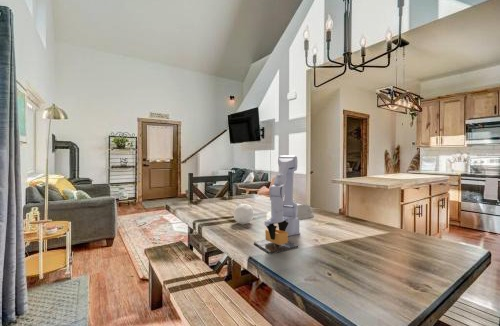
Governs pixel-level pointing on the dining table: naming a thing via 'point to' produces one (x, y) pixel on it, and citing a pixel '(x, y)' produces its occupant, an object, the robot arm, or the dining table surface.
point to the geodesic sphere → (243, 213)
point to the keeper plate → (275, 246)
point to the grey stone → (304, 212)
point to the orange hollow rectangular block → (278, 237)
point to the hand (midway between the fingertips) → (277, 237)
